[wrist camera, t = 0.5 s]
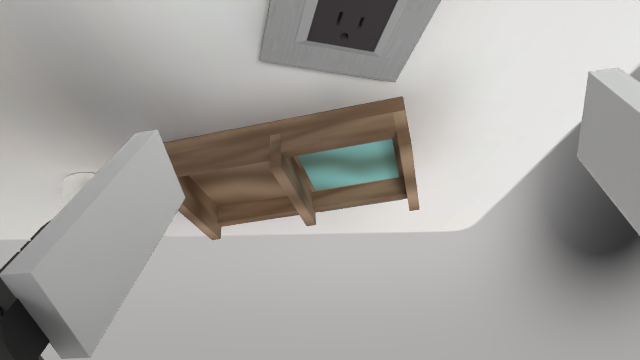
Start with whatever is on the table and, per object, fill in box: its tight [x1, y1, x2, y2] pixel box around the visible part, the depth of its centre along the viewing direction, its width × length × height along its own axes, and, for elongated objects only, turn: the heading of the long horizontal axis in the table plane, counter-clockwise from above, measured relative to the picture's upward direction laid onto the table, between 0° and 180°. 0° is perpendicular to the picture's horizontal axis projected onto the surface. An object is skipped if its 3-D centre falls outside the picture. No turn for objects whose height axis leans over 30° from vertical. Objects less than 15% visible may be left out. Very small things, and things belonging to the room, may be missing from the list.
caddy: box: [163, 97, 419, 240], centre depth 45 cm, size 12×23×5 cm, turn 104°
